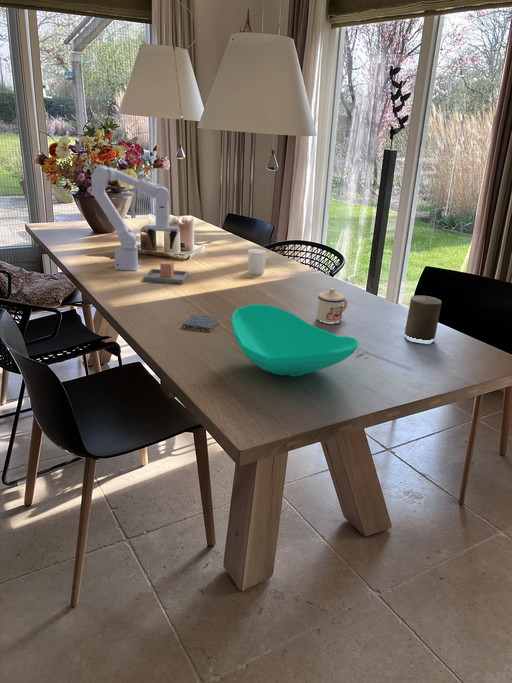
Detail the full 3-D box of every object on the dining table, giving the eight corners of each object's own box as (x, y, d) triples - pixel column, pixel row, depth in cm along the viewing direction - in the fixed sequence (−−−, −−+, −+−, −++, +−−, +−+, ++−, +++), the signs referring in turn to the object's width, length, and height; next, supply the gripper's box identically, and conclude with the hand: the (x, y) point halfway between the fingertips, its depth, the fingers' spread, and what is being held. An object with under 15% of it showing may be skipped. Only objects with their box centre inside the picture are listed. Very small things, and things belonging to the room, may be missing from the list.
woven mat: (220, 323, 188) (220, 317, 187) (211, 334, 178) (211, 328, 177) (190, 319, 190) (191, 313, 189) (180, 329, 180) (180, 323, 179)
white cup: (265, 271, 251) (267, 249, 247) (264, 276, 244) (265, 253, 240) (248, 270, 252) (249, 248, 248) (246, 274, 244) (247, 252, 241)
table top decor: (205, 357, 159) (206, 314, 154) (275, 337, 177) (278, 297, 172) (306, 413, 133) (311, 363, 128) (376, 383, 150) (383, 338, 145)
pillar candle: (429, 347, 177) (438, 302, 171) (399, 339, 181) (407, 295, 176) (437, 338, 184) (446, 295, 179) (409, 331, 189) (416, 289, 183)
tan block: (160, 277, 230) (160, 263, 228) (163, 275, 234) (163, 261, 232) (171, 278, 230) (171, 264, 227) (173, 275, 234) (173, 261, 231)
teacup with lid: (326, 326, 189) (330, 294, 184) (310, 318, 196) (313, 286, 191) (353, 321, 195) (357, 290, 190) (336, 313, 202) (340, 282, 198)
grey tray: (143, 281, 226) (143, 276, 226) (151, 272, 238) (151, 268, 238) (182, 284, 226) (182, 279, 225) (188, 275, 238) (188, 271, 237)
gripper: (143, 216, 233) (143, 248, 238) (177, 219, 232) (177, 251, 238) (147, 213, 240) (147, 245, 245) (180, 216, 239) (180, 247, 244)
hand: (162, 247), depth 242 cm, fingers open, 7 cm apart
